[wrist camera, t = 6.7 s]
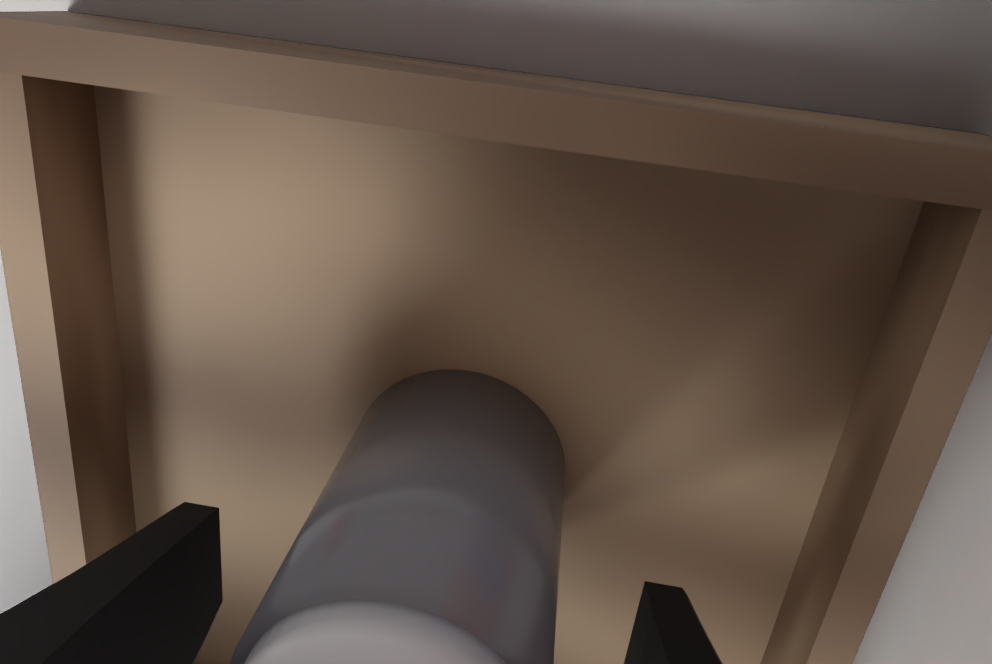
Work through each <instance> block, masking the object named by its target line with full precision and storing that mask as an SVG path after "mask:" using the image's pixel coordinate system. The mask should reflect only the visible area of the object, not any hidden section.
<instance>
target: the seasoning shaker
mask: <svg viewBox="0 0 992 664" xmlns="http://www.w3.org/2000/svg"><path fill="white" fill-rule="evenodd" d="M564 488H565V457H564V451H563V448H562V444H561V441H560V438H559V436H558V434H557V432H556V430H555V428H554V426H553V425H552V423H551V422H550V420H549V418H548V417H547V416H546V414H545V413H544V412H543V411H542V410H541V409H540V407H539V406H538V405H537V404H535V403H534V402H533V401H532V400H531V399H530V398H529V397H528V396H526V395H525V394H523V393H522V392H521V391H519V390H518V389H516V388H515V387H513V386H511V385H509V384H507V383H505V382H504V381H501V380H499V379H496V378H494V377H491V376H488V375H484V374H481V373H477V372H472V371H465V370H447V369H446V370H435V371H429V372H424V373H419V374H416V375H413V376H410V377H408V378H405V379H403V380H401V381H399V382H397V383H395V384H394V385H392V386H391V387H389V388H388V389H387V390H385V391H384V392H383V393H382V394H380V395H379V396H378V397H377V398H376V399H375V400H374V401H373V403H372V404H371V405H370V407H369V408H368V409H367V411H366V413H365V414H364V416H363V418H362V420H361V422H360V423H359V425H358V427H357V429H356V431H355V432H354V434H353V436H352V438H351V440H350V441H349V443H348V445H347V447H346V449H345V451H344V452H343V454H342V456H341V458H340V460H339V461H338V463H337V465H336V467H335V469H334V470H333V472H332V474H331V476H330V478H329V479H328V481H327V483H326V485H325V487H324V488H323V490H322V492H321V494H320V496H319V497H318V499H317V501H316V503H315V505H314V506H313V508H312V510H311V512H310V514H309V516H308V517H307V519H306V521H305V523H304V525H303V526H302V528H301V530H300V532H299V534H298V535H297V537H296V539H295V541H294V543H293V544H292V546H291V548H290V550H289V552H288V553H287V555H286V557H285V559H284V561H283V562H282V564H281V566H280V568H279V570H278V572H277V573H276V575H275V577H274V579H273V581H272V582H271V584H270V586H269V588H268V590H267V591H266V593H265V595H264V597H263V599H262V600H261V602H260V604H259V606H258V608H257V609H256V611H255V613H254V615H253V617H252V618H251V620H250V622H249V624H248V626H247V627H246V629H245V631H244V633H243V635H242V637H241V638H240V640H239V642H238V644H237V646H236V648H235V649H234V652H233V655H232V658H231V662H230V664H553V662H554V646H555V631H556V615H557V599H558V583H559V567H560V551H561V536H562V520H563V504H564Z"/></svg>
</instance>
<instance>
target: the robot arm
mask: <svg viewBox="0 0 992 664" xmlns="http://www.w3.org/2000/svg"><path fill="white" fill-rule="evenodd" d="M222 601H223V593H222V568H221V542H220V517H219V508H218V507H212V506H206V505H200V504H194V503H189V502H184V503H182V504H180V505H179V506H177V507H175V508H174V509H172V510H170V511H169V512H167V513H166V514H164V515H163V516H161V517H159V518H158V519H156V520H155V521H153V522H152V523H150V524H149V525H147V526H146V527H144V528H143V529H141V530H139V531H138V532H136V533H135V534H133V535H132V536H130V537H129V538H127V539H126V540H124V541H122V542H121V543H119V544H118V545H116V546H115V547H113V548H111V549H110V550H108V551H107V552H105V553H103V554H102V555H100V556H99V557H97V558H95V559H94V560H92V561H91V562H89V563H88V564H86V565H84V566H83V567H81V568H80V569H78V570H76V571H75V572H73V573H71V574H70V575H68V576H66V577H65V578H63V579H61V580H59V581H58V582H56V583H54V584H52V585H51V586H49V587H47V588H45V589H44V590H42V591H40V592H38V593H37V594H35V595H33V596H32V597H30V598H28V599H26V600H25V601H23V602H21V603H19V604H18V605H16V606H14V607H12V608H11V609H9V610H7V611H5V612H3V613H1V614H0V664H192V663H193V661H194V660H195V658H196V656H197V654H198V652H199V650H200V648H201V646H202V644H203V642H204V640H205V638H206V636H207V634H208V632H209V630H210V628H211V625H212V623H213V621H214V619H215V617H216V614H217V612H218V610H219V608H220V606H221V604H222ZM624 664H722V662H721V660H720V658H719V656H718V655H717V653H716V651H715V649H714V647H713V645H712V643H711V641H710V639H709V638H708V636H707V634H706V632H705V630H704V628H703V626H702V624H701V622H700V620H699V618H698V616H697V614H696V612H695V610H694V608H693V606H692V604H691V601H690V599H689V597H688V595H687V594H686V592H685V591H684V589H683V588H682V587H676V586H670V585H664V584H658V583H653V582H647V581H645V582H644V586H643V590H642V594H641V598H640V601H639V605H638V609H637V613H636V617H635V621H634V625H633V629H632V633H631V637H630V641H629V645H628V649H627V653H626V657H625V661H624Z"/></svg>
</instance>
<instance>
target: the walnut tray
mask: <svg viewBox="0 0 992 664" xmlns="http://www.w3.org/2000/svg"><path fill="white" fill-rule="evenodd" d="M0 248H1V255H2V261H3V268H4V274H5V280H6V287H7V293H8V299H9V306H10V312H11V319H12V325H13V331H14V338H15V344H16V350H17V357H18V363H19V370H20V376H21V382H22V389H23V395H24V401H25V408H26V414H27V421H28V427H29V433H30V440H31V446H32V452H33V459H34V465H35V472H36V478H37V484H38V491H39V497H40V503H41V510H42V516H43V523H44V529H45V535H46V542H47V548H48V554H49V561H50V567H51V574H52V580H53V584H54V583H56V582H58V581H59V580H61V579H63V578H65V577H66V576H68V575H70V574H71V573H73V572H75V571H76V570H78V569H80V568H81V567H83V566H84V565H86V564H88V563H89V562H91V561H92V560H94V559H95V558H97V557H99V556H100V555H102V554H103V553H105V552H107V551H108V550H110V549H111V548H113V547H115V546H116V545H118V544H119V543H121V542H122V541H124V540H126V539H127V538H129V537H130V536H132V535H133V534H135V533H136V532H138V531H139V530H141V529H143V528H144V527H146V526H147V525H149V524H150V523H152V522H153V521H155V520H156V519H158V518H159V517H161V516H163V515H164V514H166V513H167V512H169V511H170V510H172V509H174V508H175V507H177V506H179V505H180V504H182V503H184V502H189V503H194V504H200V505H206V506H212V507H218V508H219V517H220V542H221V568H222V593H223V601H222V604H221V606H220V608H219V610H218V612H217V614H216V617H215V619H214V621H213V623H212V625H211V628H210V630H209V632H208V634H207V636H206V638H205V640H204V642H203V644H202V646H201V648H200V650H199V652H198V654H197V656H196V658H195V660H194V661H193V663H192V664H230V662H231V658H232V655H233V652H234V649H235V648H236V646H237V644H238V642H239V640H240V638H241V637H242V635H243V633H244V631H245V629H246V627H247V626H248V624H249V622H250V620H251V618H252V617H253V615H254V613H255V611H256V609H257V608H258V606H259V604H260V602H261V600H262V599H263V597H264V595H265V593H266V591H267V590H268V588H269V586H270V584H271V582H272V581H273V579H274V577H275V575H276V573H277V572H278V570H279V568H280V566H281V564H282V562H283V561H284V559H285V557H286V555H287V553H288V552H289V550H290V548H291V546H292V544H293V543H294V541H295V539H296V537H297V535H298V534H299V532H300V530H301V528H302V526H303V525H304V523H305V521H306V519H307V517H308V516H309V514H310V512H311V510H312V508H313V506H314V505H315V503H316V501H317V499H318V497H319V496H320V494H321V492H322V490H323V488H324V487H325V485H326V483H327V481H328V479H329V478H330V476H331V474H332V472H333V470H334V469H335V467H336V465H337V463H338V461H339V460H340V458H341V456H342V454H343V452H344V451H345V449H346V447H347V445H348V443H349V441H350V440H351V438H352V436H353V434H354V432H355V431H356V429H357V427H358V425H359V423H360V422H361V420H362V418H363V416H364V414H365V413H366V411H367V409H368V408H369V407H370V405H371V404H372V403H373V401H374V400H375V399H376V398H377V397H378V396H379V395H380V394H382V393H383V392H384V391H385V390H387V389H388V388H389V387H391V386H392V385H394V384H395V383H397V382H399V381H401V380H403V379H405V378H408V377H410V376H413V375H416V374H419V373H424V372H429V371H435V370H446V369H447V370H465V371H472V372H477V373H481V374H484V375H488V376H491V377H494V378H496V379H499V380H501V381H504V382H505V383H507V384H509V385H511V386H513V387H515V388H516V389H518V390H519V391H521V392H522V393H523V394H525V395H526V396H528V397H529V398H530V399H531V400H532V401H533V402H534V403H535V404H537V405H538V406H539V407H540V409H541V410H542V411H543V412H544V413H545V414H546V416H547V417H548V418H549V420H550V422H551V423H552V425H553V426H554V428H555V430H556V432H557V434H558V436H559V438H560V441H561V444H562V448H563V451H564V457H565V488H564V504H563V520H562V536H561V551H560V567H559V583H558V599H557V615H556V631H555V646H554V662H553V664H624V661H625V657H626V653H627V649H628V645H629V641H630V637H631V633H632V629H633V625H634V621H635V617H636V613H637V609H638V605H639V601H640V598H641V594H642V590H643V586H644V582H645V581H647V582H653V583H658V584H664V585H670V586H676V587H682V588H683V589H684V591H685V592H686V594H687V595H688V597H689V599H690V601H691V604H692V606H693V608H694V610H695V612H696V614H697V616H698V618H699V620H700V622H701V624H702V626H703V628H704V630H705V632H706V634H707V636H708V638H709V639H710V641H711V643H712V645H713V647H714V649H715V651H716V653H717V655H718V656H719V658H720V660H721V662H722V664H852V663H853V661H854V658H855V656H856V654H857V651H858V649H859V647H860V644H861V642H862V639H863V637H864V635H865V632H866V630H867V627H868V625H869V623H870V620H871V618H872V616H873V613H874V611H875V608H876V606H877V604H878V601H879V599H880V597H881V594H882V592H883V589H884V587H885V585H886V582H887V580H888V578H889V575H890V573H891V570H892V568H893V566H894V563H895V561H896V559H897V556H898V554H899V551H900V549H901V547H902V544H903V542H904V540H905V537H906V535H907V532H908V530H909V528H910V525H911V523H912V520H913V518H914V516H915V513H916V511H917V509H918V506H919V504H920V501H921V499H922V497H923V494H924V492H925V490H926V487H927V485H928V482H929V480H930V478H931V475H932V473H933V471H934V468H935V466H936V463H937V461H938V459H939V456H940V454H941V452H942V449H943V447H944V444H945V442H946V440H947V437H948V435H949V433H950V430H951V428H952V425H953V423H954V421H955V418H956V416H957V414H958V411H959V409H960V406H961V404H962V402H963V399H964V397H965V394H966V392H967V390H968V387H969V385H970V383H971V380H972V378H973V375H974V373H975V371H976V368H977V366H978V364H979V361H980V359H981V356H982V354H983V352H984V349H985V347H986V345H987V342H988V340H989V337H990V335H991V333H992V137H989V136H986V135H983V134H978V133H971V132H963V131H956V130H948V129H941V128H933V127H926V126H918V125H911V124H904V123H896V122H889V121H881V120H874V119H866V118H859V117H851V116H844V115H836V114H829V113H821V112H814V111H806V110H799V109H792V108H784V107H777V106H769V105H762V104H754V103H747V102H739V101H732V100H724V99H717V98H709V97H702V96H694V95H687V94H680V93H672V92H665V91H657V90H650V89H642V88H635V87H627V86H620V85H612V84H605V83H597V82H590V81H582V80H575V79H568V78H560V77H553V76H545V75H538V74H530V73H523V72H515V71H508V70H500V69H493V68H485V67H478V66H470V65H463V64H456V63H448V62H441V61H433V60H426V59H418V58H411V57H403V56H396V55H388V54H381V53H373V52H366V51H358V50H351V49H344V48H336V47H329V46H321V45H314V44H306V43H299V42H291V41H284V40H276V39H269V38H261V37H254V36H246V35H239V34H232V33H224V32H217V31H209V30H202V29H194V28H187V27H179V26H172V25H164V24H157V23H149V22H142V21H134V20H127V19H120V18H112V17H105V16H97V15H90V14H82V13H75V12H67V11H38V12H0Z"/></svg>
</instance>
